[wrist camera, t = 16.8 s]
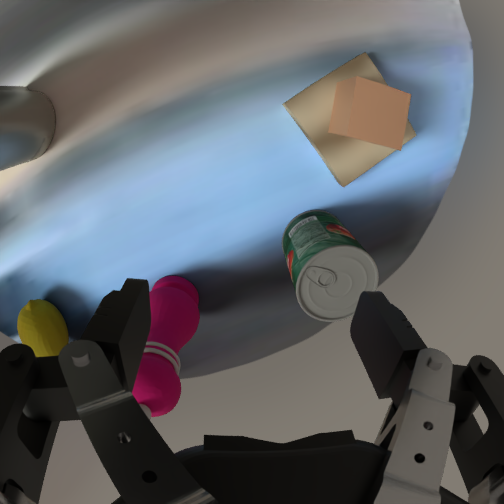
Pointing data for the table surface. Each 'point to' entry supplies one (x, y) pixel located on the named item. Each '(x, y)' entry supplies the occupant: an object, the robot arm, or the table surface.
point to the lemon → (42, 328)
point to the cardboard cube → (370, 112)
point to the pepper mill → (166, 344)
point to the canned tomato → (327, 266)
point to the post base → (319, 115)
